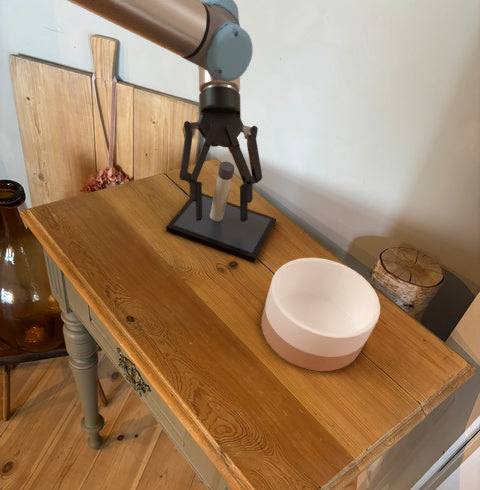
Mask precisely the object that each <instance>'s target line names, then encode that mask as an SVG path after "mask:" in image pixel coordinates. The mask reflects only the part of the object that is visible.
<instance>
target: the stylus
mask: <svg viewBox="0 0 480 490" xmlns="http://www.w3.org/2000/svg"><path fill="white" fill-rule="evenodd" d="M234 172H235V165H234V164H233V162H229V161H222V162H220V164H219V167H218V172H217V178H216V182H215V183H216V184H215V189H214V193H213V196H212V197H213V202H212V207H211V212H210V218H211V219H212V220H214V221H221V220H222V219H223V215H224V211H225V207H226V202H228V197H229V194H230V190H231V186H232V185H231V184H232V181H233V177H234Z"/></svg>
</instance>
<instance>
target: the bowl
mask: <svg viewBox="0 0 480 490" xmlns="http://www.w3.org/2000/svg"><path fill="white" fill-rule="evenodd" d="M380 315H381V304H380V298H379V296H378V294H377V292H376V290H375V289H374V287H373V286H372V284H371V283H370V282H369V281H368V280H366V278H365V277H363V275H361V274H360V273H358V271H356V270H354V269H352V268H351V267H349V266H347V265H345V264H342V263H340V262H338V261H334V260H331V259H327V258H321V257H302V258H296V259H293V260H290V261H288V262H286V263H285V264H283V265H281V266H280V267H279V268H278V269H277V270H276V272H275V273H274V274H273V276H272V278H271V282H270V284H269V289H268V292H267V296H266V299H265V304H264V308H263V311H262V315H261V326H260V327H261V329H262V334H263V337H264V338H265V340H266V343H267V344H268V345H269V346H270V348H271V349H272V350H273V351H274V352H275V353H276V354H277V355H278V356H279V357H280V358H282V359H284V360H285V361H286V362H288V363H290V364H292V365H295V366H296V367H299V368H302V369H306V370H309V371H316V372H332V371H336V370H341V369H343V368H344V367H348V366H349V365H350V364H351V363H353V362H354V361H355V360H356V358H357V357H358V356H359V354H360V353H361V351H362V349H363V348H364V346H365V344H366V342H367V341H368V339H369V337H370V336H371V334H372V333H373V330H374V328H375V327H376V325H377V323H378V321H379V318H380Z"/></svg>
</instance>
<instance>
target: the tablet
mask: <svg viewBox="0 0 480 490" xmlns="http://www.w3.org/2000/svg"><path fill="white" fill-rule="evenodd" d="M213 197H214V196H211V195H209V194H205V193H203V192H202V219H201V220H200V221H196V201H191V200H190V198H189V199H188V200H187V201H186V203H184V205H183V206H182V207H181V209H179V211H178V212H177V213H176V215H175V216H174V217H173V218H172V219H171V220H170V221H169V223H168V224H167V225H166V227H165V229H166V232H167V233H169V234H172V235H175V236H178V237H181V238H184V239H185V240H189V241H191V242H195V243H197V244H201V245H203V246H206V247H209V248H211V249H215V250H217V251H220V252H222V253H225V254H227V255H231V256H234V257H237V258H239V259H241V260H245V261H247V262H251V263H253V264H254V263H255V262H256V260H257V258H258V257H259V254H260V253H261V251H262V250H263V248H264V246H265V244H266V242H267V240H268V238H269V237H270V235H271V233H272V231H273V229H274V228H275V225H276V224H277V218H275V217H272V216H270V215H267V214H264V213H261V212H257V211H255V210H253V209H249V208H248V220H246V221H244V222H242V221H240V205H238V204H235V203H231V202H228V201H227V202H226V207H225V211H224V215H223V219H222V220H221V221H214V220H212V219H211V218H210V212H211V207H212V202H213Z"/></svg>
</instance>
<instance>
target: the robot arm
mask: <svg viewBox="0 0 480 490" xmlns="http://www.w3.org/2000/svg"><path fill="white" fill-rule="evenodd" d="M66 1H67V2H70V3H71V4H74V5H76V6H77V7H80V8H81V9H84V10H85V11H87V12H89V13H92V14H93V15H96V16H98V17H100V18H102V19H104V20H106V21H108V22H111V23H112V24H114V25H116V26H118V27H120V28H122V29H124V30H126V31H129V32H130V33H133V34H134V35H137V36H138V37H140V38H143V39H145V40H146V41H148V42H151V43H153V44H155V45H157V46H159V47H161V48H163V49H165V50H166V51H169V52H171V53H173V54H175V55H177V56H179V57H181V58H182V59H184V60H186V61H187V62H189V63H192V64H194V65H196V66H197V68H198V91H199V92H200V93H199V95H198V110H199V114H198V115H199V117H198V119H197V121H194V122H190V121H188V120H185V121H184V122H183V125H182V134H183V138H184V141H183V146H182V147H183V148H182V155H181V161H180V168H179V180H180V181H184V182H186V183H188V185H189V199H190V200H191V201H196V221H200V220H201V219H202V193H203V185H202V181H198V179H199V176H200V173H201V171H202V168H203V166H204V164H205V161H206V158H207V156H208V155H209V154H208V153H209V151H210V149H211V148H212V147H213V148H217V147H222V148H227V149H228V152H229V153H230V154H231V156H232V159H233V161H234V163H235V166H236V169H237V171H238V173H239V176H240V178H241V181H242V184H241V185H240V186H239V206H240V221H242V222H244V221H246V220H248V209H249V208H248V206H249V205H248V204H251V203H252V202H253V200H254V199H253V198H254V197H253V196H254V194H253V186H254V184H258V183H259V182H260V181H262V179H263V173H262V167H261V160H260V154H259V148H258V147H259V146H258V141H257V136H258V131H259V130H258V129H259V127H258V126H256V125H252V126H249V125H244V123H243V121H242V118H241V116H242V115H241V114H242V113H241V111H242V110H241V93H240V91H241V77H242V76H243V75H244V74H245V72H246V71H247V69H248V67H249V66H250V63H251V61H252V58H253V50H254V47H253V42H252V38H251V36H250V34H249V33H248V32H247V30H245V29H244V28H242V27H241V24H240V16H239V7H238V5H237V4H236V1H234V0H66ZM196 131H199V133H200V134H201V136H202V137H203V139H204V142H203V145H202V147H201V150H200V151H199V154H198V157H197V160H196V162H195V165H194V167H193V170H192V172H191V173H190V172H189V165H190V159H191V150H192V144H193V137H194V136H195V135H196ZM241 133H242V134H243V136H244V139H245V140H246V147H247V154H248V159H249V166H250V169H249V166H248V164H247V161H246V159H245V157H244V154H243V151H242V149H241V147H240V146H241V145H240V141H239V139H238V137H239V135H241Z"/></svg>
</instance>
